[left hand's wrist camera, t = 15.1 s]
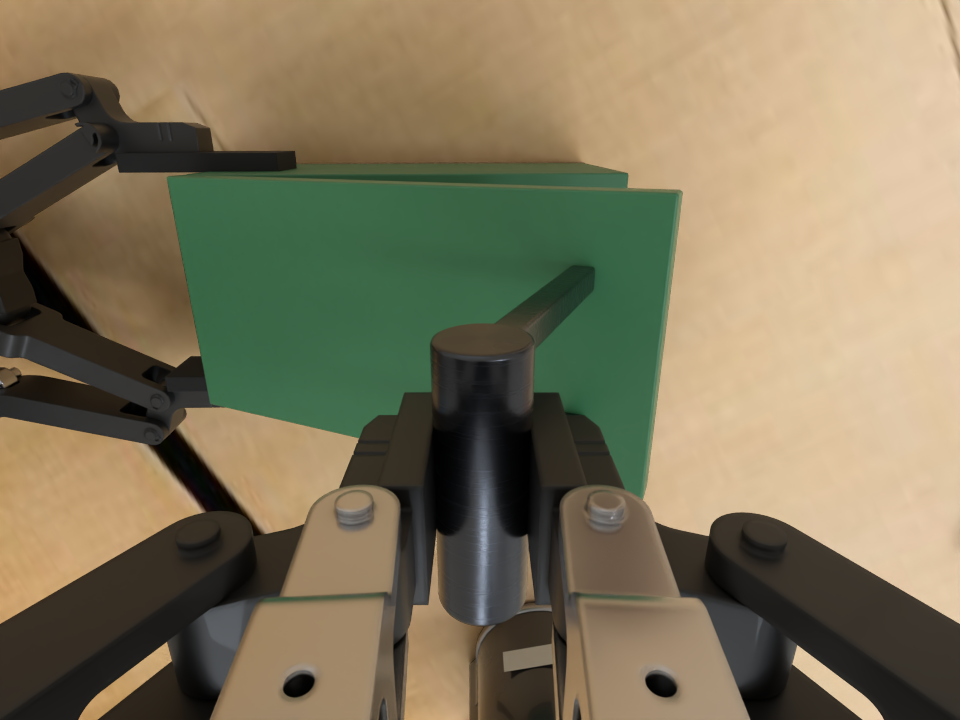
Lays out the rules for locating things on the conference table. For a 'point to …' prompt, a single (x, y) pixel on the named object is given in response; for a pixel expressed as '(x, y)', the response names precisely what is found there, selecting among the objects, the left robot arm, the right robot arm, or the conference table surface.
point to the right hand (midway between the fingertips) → (300, 273)
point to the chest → (455, 173)
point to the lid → (438, 330)
